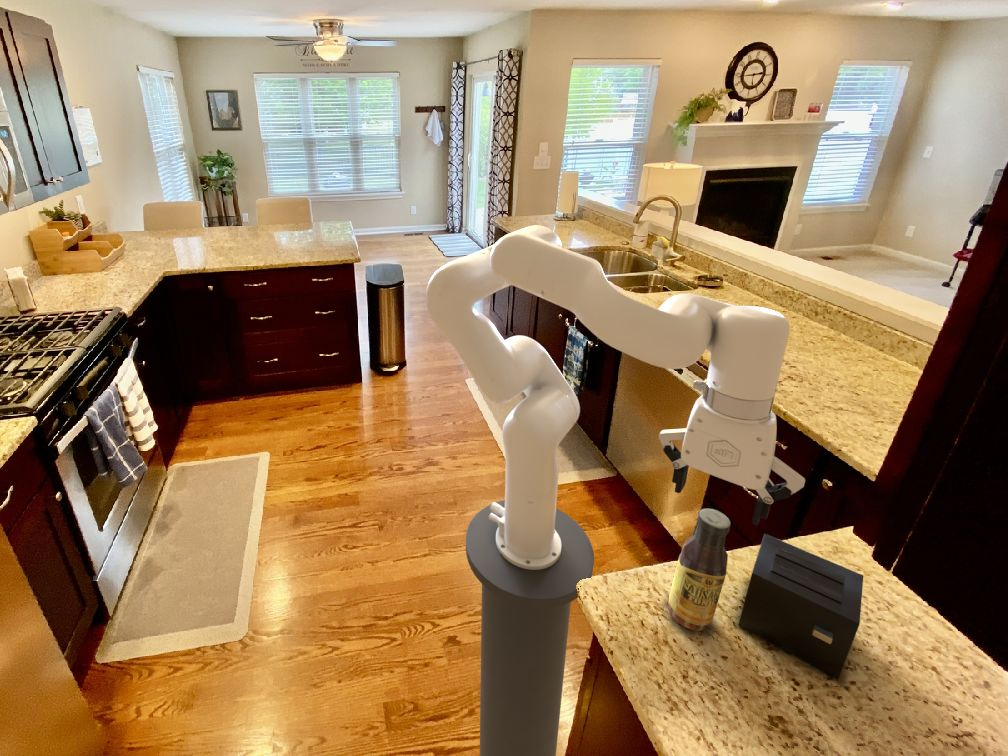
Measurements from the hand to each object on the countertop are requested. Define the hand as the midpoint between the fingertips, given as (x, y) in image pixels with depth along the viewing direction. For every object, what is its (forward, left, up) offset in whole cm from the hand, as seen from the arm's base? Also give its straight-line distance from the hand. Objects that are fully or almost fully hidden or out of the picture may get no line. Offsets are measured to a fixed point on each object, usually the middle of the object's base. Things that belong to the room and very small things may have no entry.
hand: (716, 502), depth 70 cm
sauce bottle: (0, 0, -23) cm, 23 cm away
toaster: (+12, +8, -23) cm, 27 cm away
